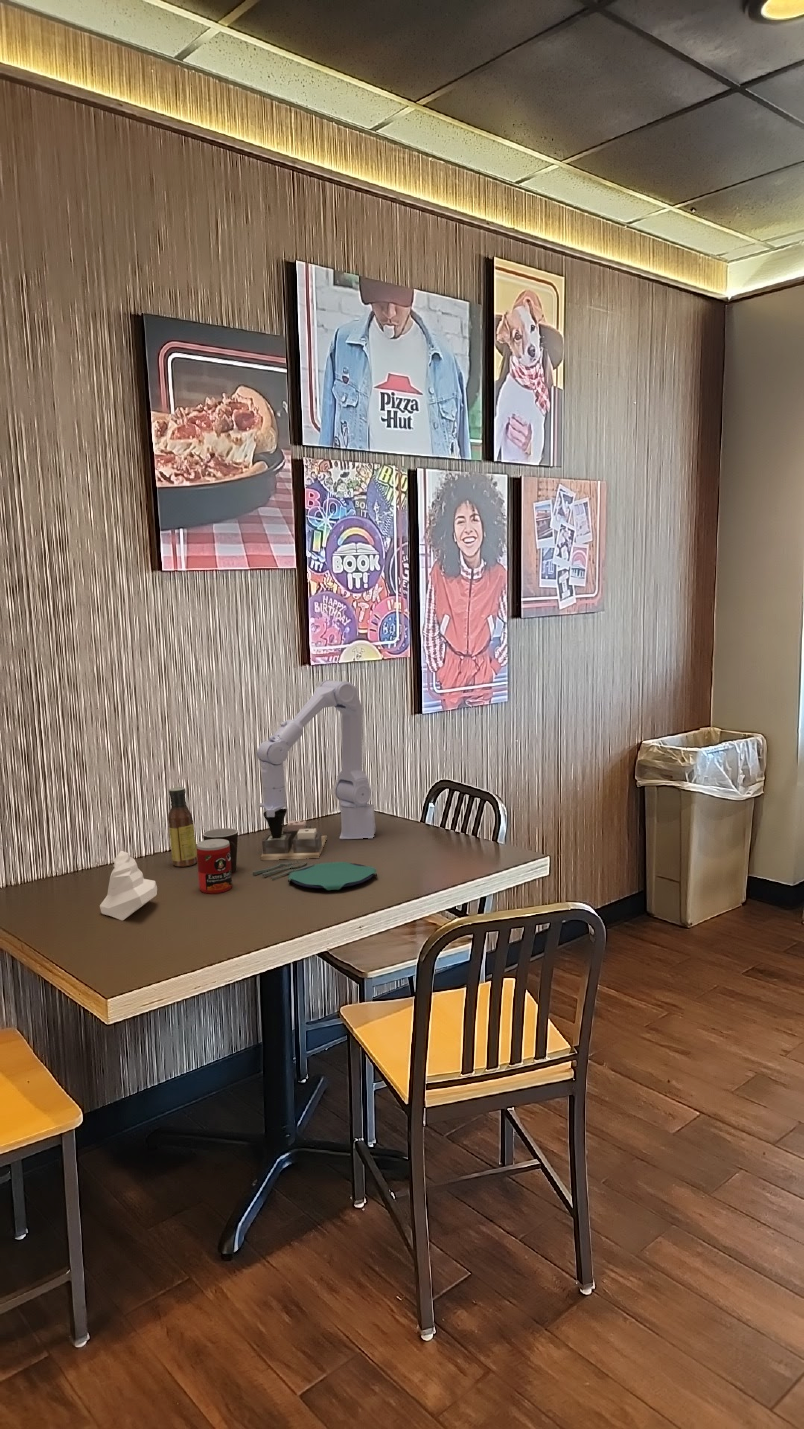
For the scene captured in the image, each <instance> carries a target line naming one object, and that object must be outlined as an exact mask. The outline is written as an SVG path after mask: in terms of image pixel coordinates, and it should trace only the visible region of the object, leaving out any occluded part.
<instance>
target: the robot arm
mask: <svg viewBox="0 0 804 1429" xmlns="http://www.w3.org/2000/svg"><path fill="white" fill-rule="evenodd" d="M330 707H334V708H335V709H336V710H337V711H338V712H339V713H340V714H341V718H342V721H341V722H342V723H341V724H342V725H341V728H342V729H341V730H342V731H341V734H342V736H341V737H342V738H341V741H342V742H341V749H342V751H341V755H342V756H341V758H342V760H341V764H342V765H341V768H342V770H341V771H340V772H339V773H338V775H337V776H336V777H337V781H336V783H335V786H334V795H335V797H336V798H337V800H338V801H339V805H340V821H341V823H340V824H341V833H340V834H339V835H340V836H339V838H338V839H339V840H359V839H360V840H362V839H363V838H368V839H374V838H375V835H374V834H376V831H377V829H376V828H377V826H376V823H375V822H376V821H375V806H374V804H373V803H370V804H369V803H368V802H369V801H370V799H371V798H372V790H371V787H370V785H369V778H368V776H367V775H366V774H365V772H364V770H363V705H362V703H361V700H360V698H359V695H358V688H357V687H356V686H355V685H354V684H352V683H351V682H350V681H346V680H344V681H340V680H339V681H338V680H332V679H324V680H323V681H322V682H320V684H319V685H318V686H317V687H316V688H315V689H314V691H313V694H312V695H311V697H310V698H309V699H308V700H307V702H306V703H305V704H304V706H303V707H301V709H300V710H299V712H298V713H297V714H296V715H295V717H294V718H293V719H286V720H285V721H281V723H280V726H279V728H278V729H277V730H276V731H275V732H274V733H273V734H270V736H268V740H265V741H263V742H261V743H260V744H259V745H258V748H257V752H255V755H256V757H257V759H258V761H259V762H260V766H261V780H262V796H263V802H261V803H259V804H258V806H259V808H263V809H264V810H265V811H264V812H263V817H264V818H265V819H264V820H266V822H267V824H268V828H269V830H270V834H271V835H272V838H281V835H282V834H283V826H284V821H285V816H286V814H287V811H288V809H287V808H286V807H287V805H288V804H287V803H288V802H287V801H286V800H287V799H286V786H285V784H286V782H285V768H284V762H285V761H287V758H288V754H289V751H290V750H291V748H292V747H293V746H294V745H295V744H296V743H297V741H298V740H300V738H301V737H302V736H303V734H304V727H306V725H308V724H309V722H310V721H312V720H313V719H314V718H315V717H316V716H317V715H318V713H320V712H321V711H322V710H323V709H325V708H330ZM373 837H374V838H373Z"/></svg>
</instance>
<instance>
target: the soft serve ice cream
mask: <svg viewBox="0 0 804 1429" xmlns="http://www.w3.org/2000/svg"><path fill="white" fill-rule="evenodd" d="M112 862H113V863H114V864H113V865H112V867H114V868H113V869H112V871H111V874H110V877H109V881H108V882H109V883H108V886H107V887H108V888H107V895H106V896H105V898H104V899H103V900H102V901H101V903H100V905H99V909H100V913H101V914H102V915H104V916H105V915H106V916H110V917H112V918H114V919H117V920H119V921H124V920H126V919H127V918H128V917H130V916H131V915H133V913H135V912H136V911H138V910H139V909H140V908H142V907H144V905H146V904H147V903H148V902H150V901H151V900H152V899H153V898H155V897H157V892H158V886H157V882H156V880H152V879H147V878H144V874H143V872H142V871H141V870H140V869H139V868H138V867H139V866H138V863H137V862H136V860H135V858H133V857H131V855H130V853H129V852H126V851H123V850H120V851H119V852H118V854H117V855H116V857H115V858H114V860H113V861H112Z"/></svg>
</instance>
